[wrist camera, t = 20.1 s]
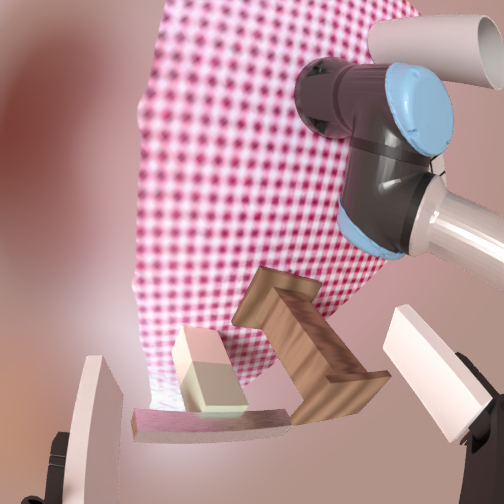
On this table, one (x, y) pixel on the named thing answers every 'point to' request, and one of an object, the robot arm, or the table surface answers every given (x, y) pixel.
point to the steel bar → (207, 426)
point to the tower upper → (212, 389)
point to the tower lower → (197, 349)
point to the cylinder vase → (443, 47)
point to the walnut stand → (307, 347)
